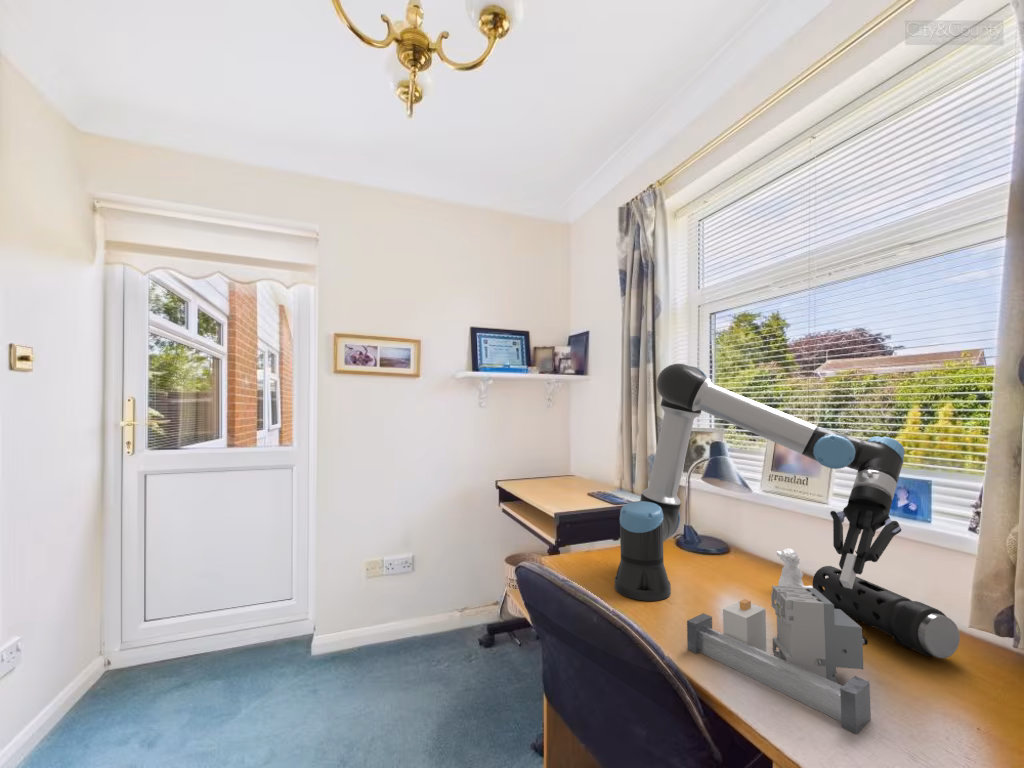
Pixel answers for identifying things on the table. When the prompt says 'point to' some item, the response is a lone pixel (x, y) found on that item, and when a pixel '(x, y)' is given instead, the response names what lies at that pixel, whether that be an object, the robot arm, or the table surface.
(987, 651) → the table surface
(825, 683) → the din rail
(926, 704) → the table surface
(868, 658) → the table surface
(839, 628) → the circuit breaker
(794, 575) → the white creature statuette
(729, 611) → the mounted module
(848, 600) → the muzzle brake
